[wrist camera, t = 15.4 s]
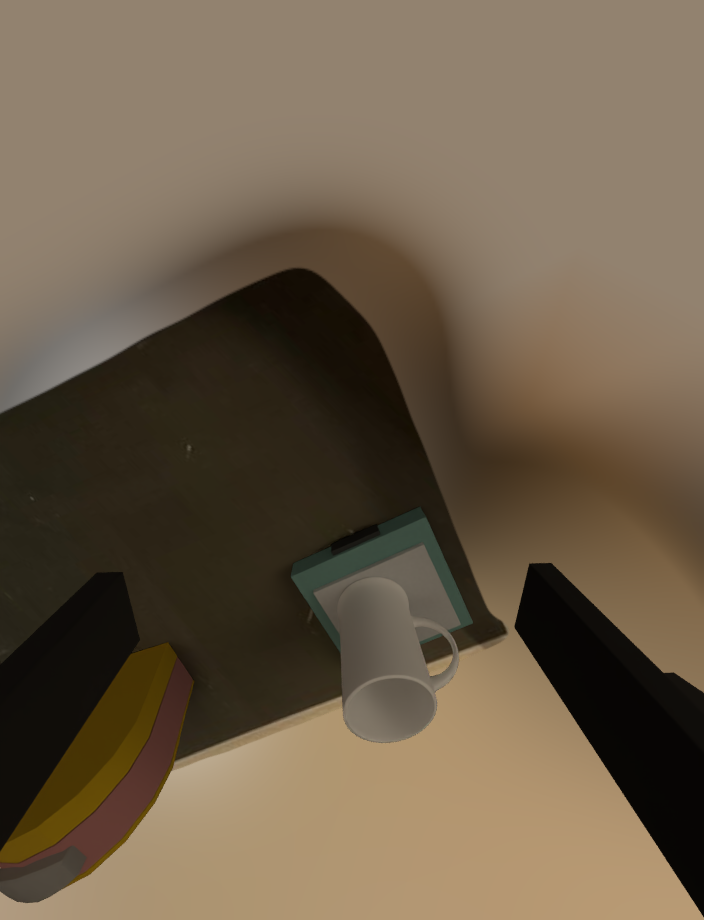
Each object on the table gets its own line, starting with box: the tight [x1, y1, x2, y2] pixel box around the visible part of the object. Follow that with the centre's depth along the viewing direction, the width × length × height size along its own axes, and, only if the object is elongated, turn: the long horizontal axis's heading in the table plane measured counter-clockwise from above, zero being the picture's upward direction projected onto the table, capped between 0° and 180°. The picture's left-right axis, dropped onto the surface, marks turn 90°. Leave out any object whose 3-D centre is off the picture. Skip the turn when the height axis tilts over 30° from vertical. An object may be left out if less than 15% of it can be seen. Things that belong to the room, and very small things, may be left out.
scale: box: [291, 507, 473, 653], centre depth 40 cm, size 17×18×3 cm
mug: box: [337, 577, 459, 743], centre depth 33 cm, size 12×8×12 cm
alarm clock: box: [0, 642, 194, 903], centre depth 35 cm, size 15×8×18 cm, turn 108°
